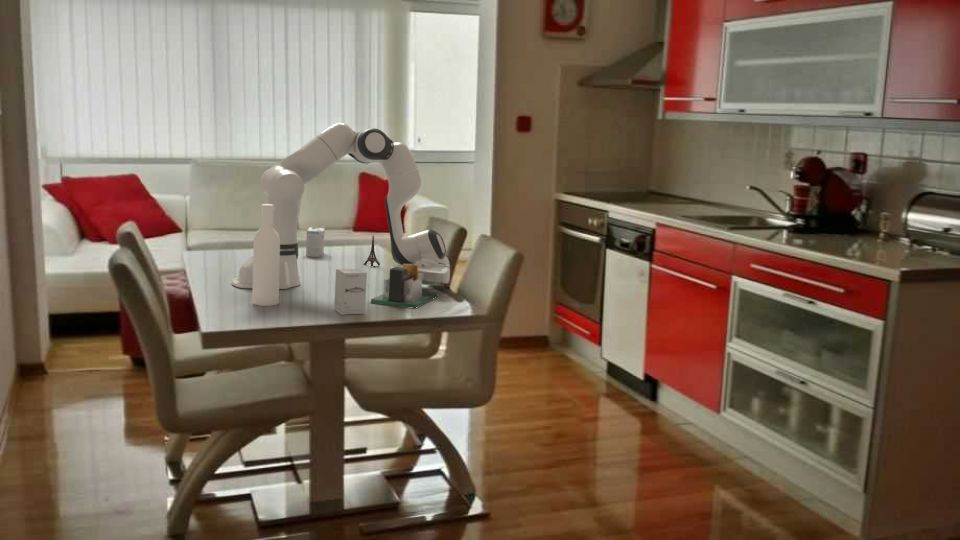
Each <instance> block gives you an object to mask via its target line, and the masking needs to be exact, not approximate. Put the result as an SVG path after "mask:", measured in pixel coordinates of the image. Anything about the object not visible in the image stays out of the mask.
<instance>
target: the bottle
mask: <svg viewBox="0 0 960 540" xmlns="http://www.w3.org/2000/svg"><path fill="white" fill-rule="evenodd" d="M260 206H261V208H260V212H261V218H260V228H258V230H256V231H255V233H254V237H253V246H252V247H253V251H252V252H253V288H252V294H251V298H252V299H251V301H252V302H251V304H252V305H255V306H260V307H271V306H273V307H274V306H277V305H279V300H280V289H279V264H280V238H279V234H278V232H277V231H276V230H275V229H274V228H273V220H274V205H272V204H268V203H262V204H261V205H260Z"/></svg>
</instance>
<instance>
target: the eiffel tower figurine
mask: <svg viewBox="0 0 960 540" xmlns="http://www.w3.org/2000/svg"><path fill="white" fill-rule="evenodd" d="M371 237H372V240H371V246H370V247H371V248H370V251H369V255H368V257H367V258H366V260H365V261H364V262H365V263H362V266H364V265H366V264H368V263H367V262H371V263H370V264H371V266H373V263H377V264H378V265H380V263H381V262H379V261H378V258H377V256H376V251H375V236H374V235H372V236H371Z"/></svg>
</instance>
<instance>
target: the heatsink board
mask: <svg viewBox="0 0 960 540" xmlns="http://www.w3.org/2000/svg"><path fill="white" fill-rule="evenodd" d="M407 272H408V268H400V267H395V268H392V269H390V268H389V277H387V278H385V279H384V280H383V291H382V294H379V295H377V296H375V297H373V298H371V299H370V303H371V304H377V305H386V306H392V305H393V306H394V307H400V306H404V307H403V308H408V307H413V308H412V309H417V308H416V307H418V306H419V307H421V306H423V305H425V304H427V303H429V302H430V300H431V301H433V300H434V299H436V298H437V297H438V295H439V294H438V293H437V292H430V291H423V284H422V279H421V278H420V279H417V280H415V281H414V278H412V277H411V278H409V279H407V280H405V279H404V276H405V275H407ZM435 297H436V298H435ZM433 298H434V299H433ZM428 301H429V302H428ZM426 302H427V303H426ZM424 303H425V304H424ZM422 304H423V305H422ZM420 305H421V306H420ZM419 307H418V308H419Z"/></svg>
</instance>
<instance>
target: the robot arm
mask: <svg viewBox="0 0 960 540" xmlns="http://www.w3.org/2000/svg"><path fill="white" fill-rule="evenodd" d="M346 155H348V156H350V158H353V160H355V161H356V162H359V163H361V164H371V163H373V162H378V163H379V164H380V165H381V166H382V168H383V170H384V171H385V175H386V178H387V182H388V192H387V194H385V197H384V204H385V205H384V206H385V207H384V208H385V213H386V219H387V220H386V221H387V226H388V232H389V237H390V251H391V256H392V260H393V261H394V262H395V263H397V265H392V266H390V267H389V270H390V269H392V268H395V267H400V268H403V264H410V265H418V279H420V278H421V279H422V286H426V285H432V284H443V285H444V284H449V283H450V278H451V266H450V261H449V258H448V257H447V256H446V255H447V254H446V253H447V251H446V250H447V249H446V243H445V241H444V239H443V237H442V235H441V234H439V233H438V231H436V230H434V229H432V228H428V229H425V230H422V231H420V232H417V233H413V234H410V235H406V236H405V235H404V229H403V224H402V218H401V211H402V210H403V207H404V206H405V205H406V204H407V203H408V202H409V201H411V200H412V199H413V198H414V197H415V196H416V195H417V194H418V193H419V190H420V188H421V187H422V186H421V185H422V181H421V175H420V172H419V170H418V166H417V163H416V161H415V159H414V156H413V154H412V152H411V151H410V149H409V147H408V146H407V145H406V144H405V143H403V142H400V141H395V142H394V141H393V140H392V139H391V138H390V137H388V136H387V134H386V133H385V132H384V131H383V130H381V129H378V128H375V127H370V128H366V129H364V130H361V131H359V132H356V131H354V130H353V128H351V127H350V125H348V124H346V123H344V122H337V123H334V124H332V125H330V126H328V127H327V128H325V129H323V130H321V131H320V132H319V133H318V134H317V135H315V136H314V137H312V139H310V140H309V141H308V142H306V143H305V144H304V145H303V146H301V147H300V148H299V149H298V150H296V151H294V152H293V153H292V154H290V155H288V156H286V157H284V158H283V159H282V160H280V161H279V162H277V163H276V164H274V165H273V166H271V167H270V168H268V169H266V170H265V171H264V172H263V173H262V175H261V177H260V181H259V184H260V188H261V191H262V192H263V194H264V195H265V196H266V197H268V198H267V204H272V205H274V220H273V228H274V229H275V230H276V231H277V232H278V234H279V238H280V264H279V290H280V289H281V290H287V289H290V288H294V287H297V286H301V279H300V276H299V268H298V258H299V243H298V221H299V214H300V210H301V206H302V205H301V203H302V197H303V194H304V193H305V185H306V184H307V183H309V182H310V181H312V180H314V179H317V178H318V177H320V176H321V175H324V173H325V172H327V171H328V170H329V169H330V168H331V167H333V165H335V164H336V163H338V161H340V160H341V159H342V158H343V157H344V156H346ZM231 285H233V286H234V287H236V288H240V289H253V256H251V257H250V258H248V259H247V260H245V261H244V262H243V263H242V264H241V265H240V267H239V271H238V277H234V278H232V279H231Z"/></svg>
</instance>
